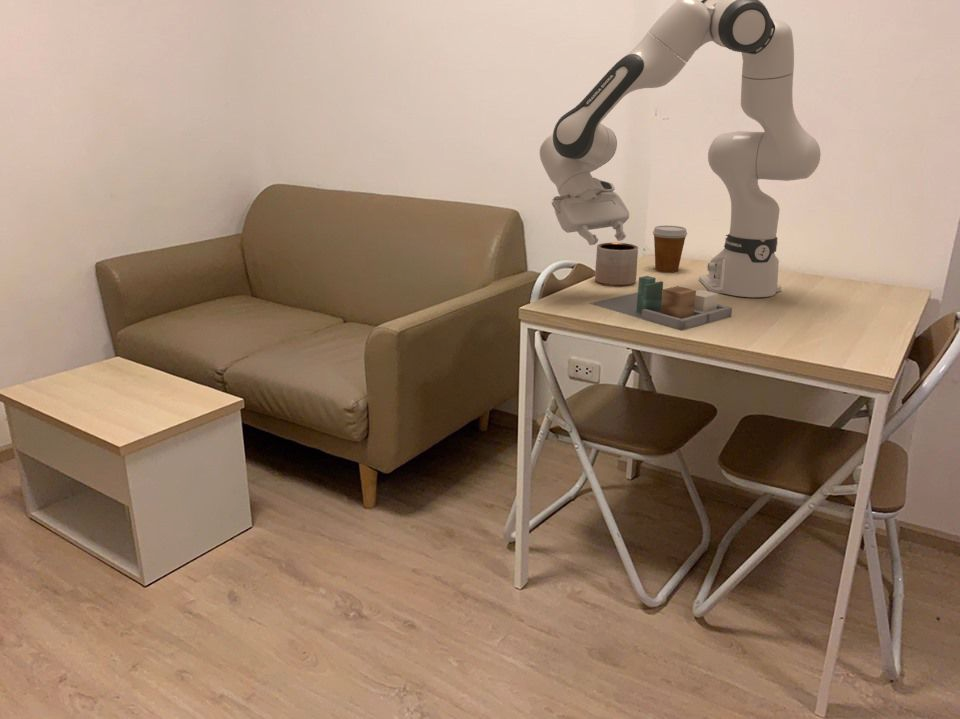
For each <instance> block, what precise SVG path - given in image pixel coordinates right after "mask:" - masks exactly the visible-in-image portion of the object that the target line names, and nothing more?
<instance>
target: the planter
mask: <svg viewBox="0 0 960 719" xmlns="http://www.w3.org/2000/svg"><path fill="white" fill-rule="evenodd" d="M638 255H639V246H638V245H635V244H632V243H626V242H625V243H624V242H604V243H603V242H602V243H600V244H597V245H596V256H595V257H596V258H595V270H594V271H595V272H594V280H595V281H596V282H597V283H599V284H600V283H601V285H604V284H605V286H609V285H611V286H612V287H626V285H627V286H630V285H631V286H632V285H633V284H634V283H636V281H637V273H638V272H637V270H638V257H639V256H638Z"/></svg>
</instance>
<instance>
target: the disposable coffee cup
mask: <svg viewBox="0 0 960 719" xmlns="http://www.w3.org/2000/svg"><path fill="white" fill-rule="evenodd" d="M652 233H653V243H654V264H655V265H654V266H655V269H654V270H655V271H657V272H660V273H676V272H678V271H679V267H680V263H681V259H682V253H683V250H684V244H685V240H686V237H687V236H688V232H687V228H686V227H683V226H677V225H657V226H655V227H654V229H653V231H652Z"/></svg>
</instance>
